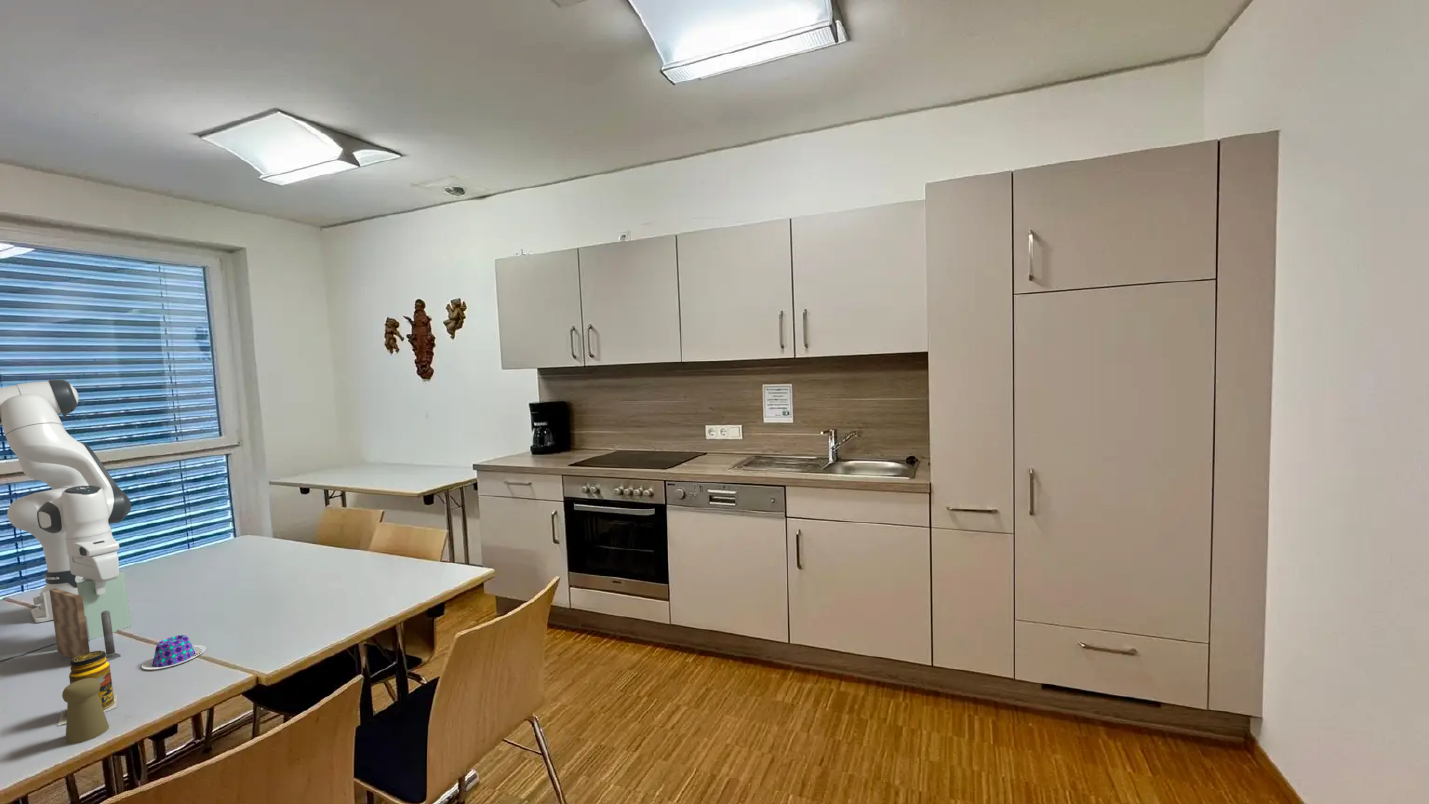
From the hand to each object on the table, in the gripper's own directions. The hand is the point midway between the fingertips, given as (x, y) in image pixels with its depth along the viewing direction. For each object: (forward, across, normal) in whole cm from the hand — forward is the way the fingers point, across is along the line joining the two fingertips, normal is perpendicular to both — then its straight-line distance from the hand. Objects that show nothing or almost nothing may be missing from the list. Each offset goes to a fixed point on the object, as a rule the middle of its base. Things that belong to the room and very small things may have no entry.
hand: (96, 592), depth 164 cm
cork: (+12, +62, -22) cm, 67 cm away
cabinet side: (+12, +13, -7) cm, 19 cm away
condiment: (+12, +50, -18) cm, 55 cm away
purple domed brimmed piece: (+13, +39, +1) cm, 41 cm away
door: (+12, 0, -1) cm, 12 cm away
